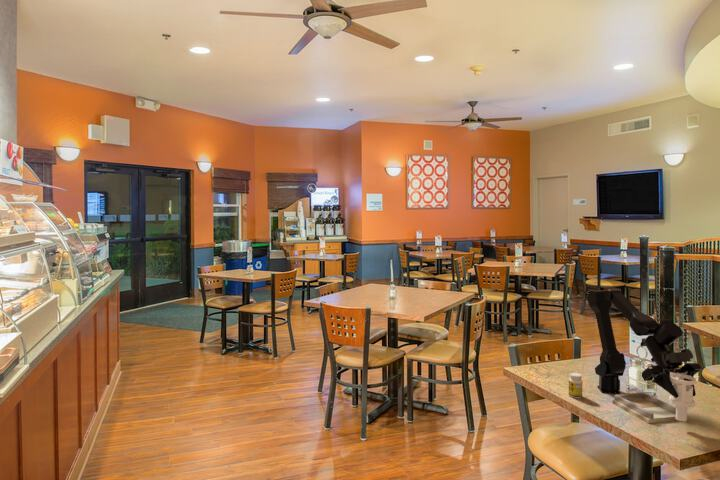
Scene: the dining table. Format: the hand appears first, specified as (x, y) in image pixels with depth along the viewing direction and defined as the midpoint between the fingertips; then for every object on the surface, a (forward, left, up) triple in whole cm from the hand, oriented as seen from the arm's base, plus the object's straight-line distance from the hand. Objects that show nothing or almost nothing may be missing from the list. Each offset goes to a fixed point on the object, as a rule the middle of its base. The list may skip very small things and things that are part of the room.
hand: (685, 396), depth 156 cm
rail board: (-6, +15, -11) cm, 19 cm away
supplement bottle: (-27, +25, -12) cm, 39 cm away
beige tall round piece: (-1, +1, -8) cm, 8 cm away
